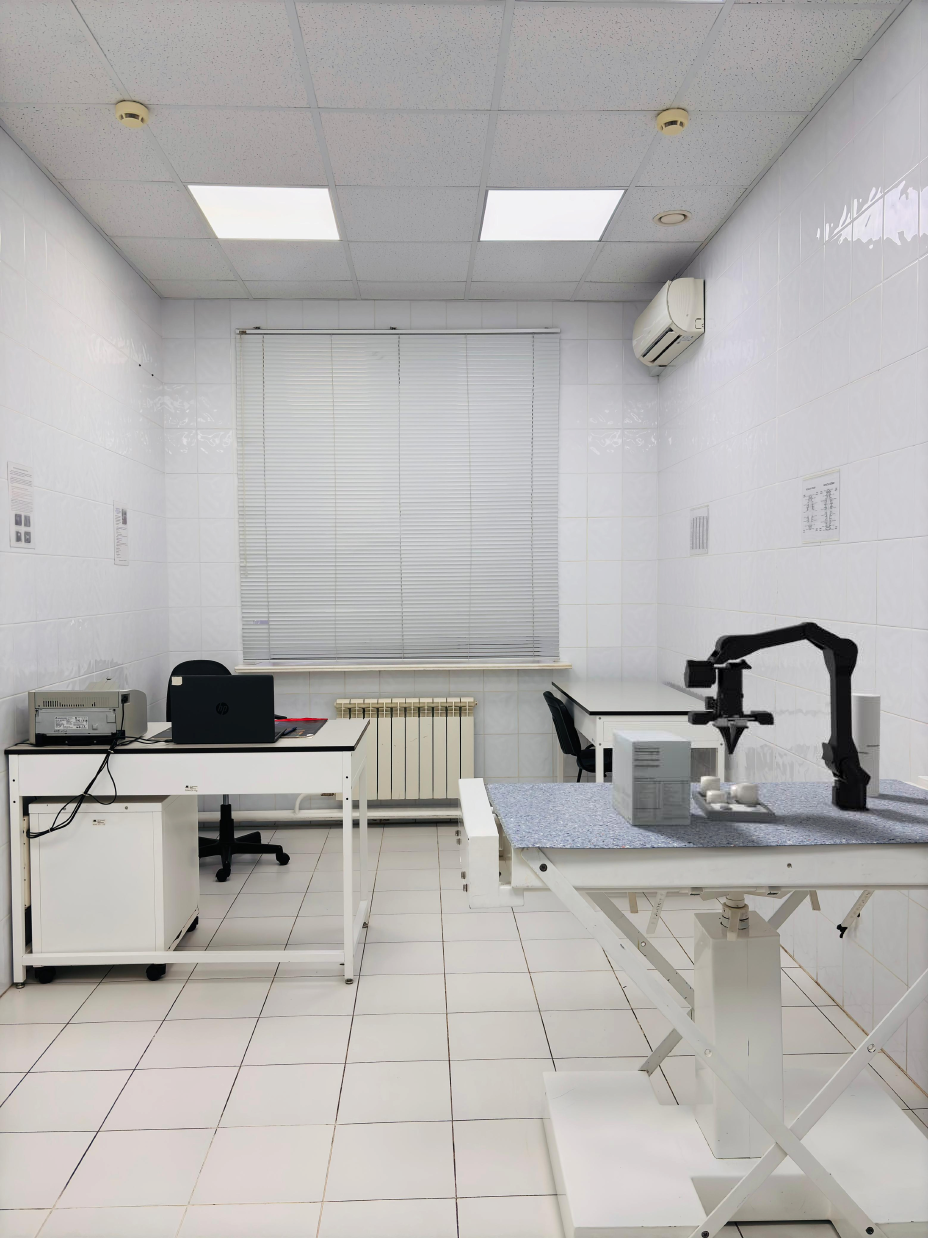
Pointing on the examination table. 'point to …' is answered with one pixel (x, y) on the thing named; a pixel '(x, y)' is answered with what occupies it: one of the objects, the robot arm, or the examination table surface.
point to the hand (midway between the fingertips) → (730, 754)
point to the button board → (733, 809)
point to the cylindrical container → (867, 736)
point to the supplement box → (651, 777)
